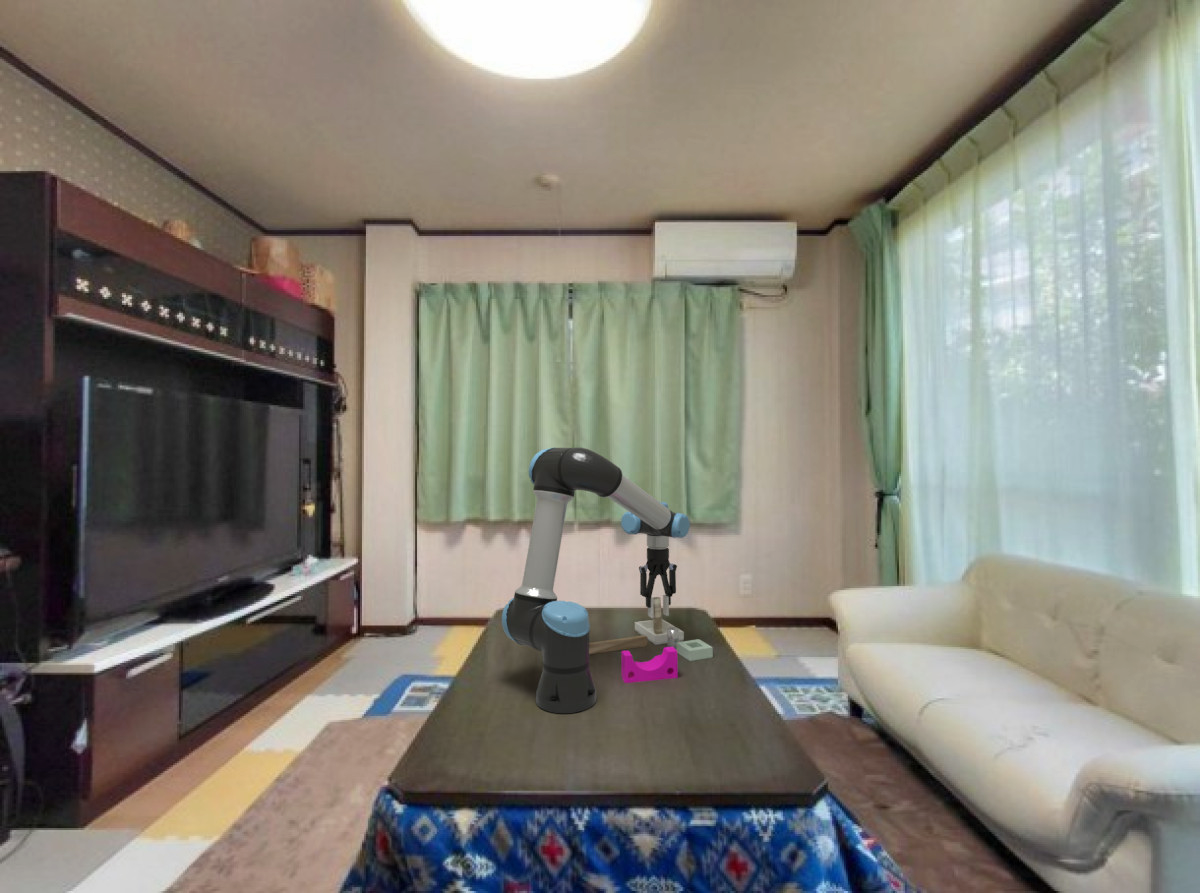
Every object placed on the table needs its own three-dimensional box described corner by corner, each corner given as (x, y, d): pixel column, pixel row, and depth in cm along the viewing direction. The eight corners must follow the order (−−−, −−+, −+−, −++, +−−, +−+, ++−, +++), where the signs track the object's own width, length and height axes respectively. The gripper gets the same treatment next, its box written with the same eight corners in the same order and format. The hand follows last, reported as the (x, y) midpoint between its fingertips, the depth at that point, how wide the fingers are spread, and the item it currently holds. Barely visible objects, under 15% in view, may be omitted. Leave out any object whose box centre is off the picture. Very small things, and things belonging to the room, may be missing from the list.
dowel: (664, 634, 185) (661, 598, 185) (656, 635, 184) (654, 599, 184) (660, 631, 188) (657, 596, 188) (652, 633, 186) (650, 598, 187)
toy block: (669, 669, 156) (669, 643, 157) (677, 678, 150) (677, 651, 150) (619, 674, 153) (619, 647, 153) (625, 683, 147) (624, 655, 147)
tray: (683, 640, 180) (683, 631, 180) (655, 645, 176) (655, 635, 176) (661, 627, 195) (661, 618, 195) (634, 630, 191) (634, 622, 191)
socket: (712, 657, 165) (712, 647, 165) (689, 661, 163) (689, 650, 163) (698, 648, 173) (698, 639, 173) (676, 652, 170) (676, 642, 170)
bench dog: (680, 648, 173) (680, 629, 173) (670, 650, 172) (670, 631, 172) (675, 645, 176) (675, 626, 176) (665, 646, 175) (665, 627, 175)
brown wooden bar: (647, 645, 176) (647, 636, 176) (582, 655, 168) (582, 645, 168) (645, 644, 177) (645, 635, 177) (581, 653, 169) (581, 643, 169)
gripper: (675, 543, 193) (676, 610, 193) (629, 547, 186) (629, 615, 186) (686, 547, 186) (687, 615, 186) (638, 550, 179) (639, 622, 179)
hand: (658, 615), depth 186 cm, fingers open, 5 cm apart
